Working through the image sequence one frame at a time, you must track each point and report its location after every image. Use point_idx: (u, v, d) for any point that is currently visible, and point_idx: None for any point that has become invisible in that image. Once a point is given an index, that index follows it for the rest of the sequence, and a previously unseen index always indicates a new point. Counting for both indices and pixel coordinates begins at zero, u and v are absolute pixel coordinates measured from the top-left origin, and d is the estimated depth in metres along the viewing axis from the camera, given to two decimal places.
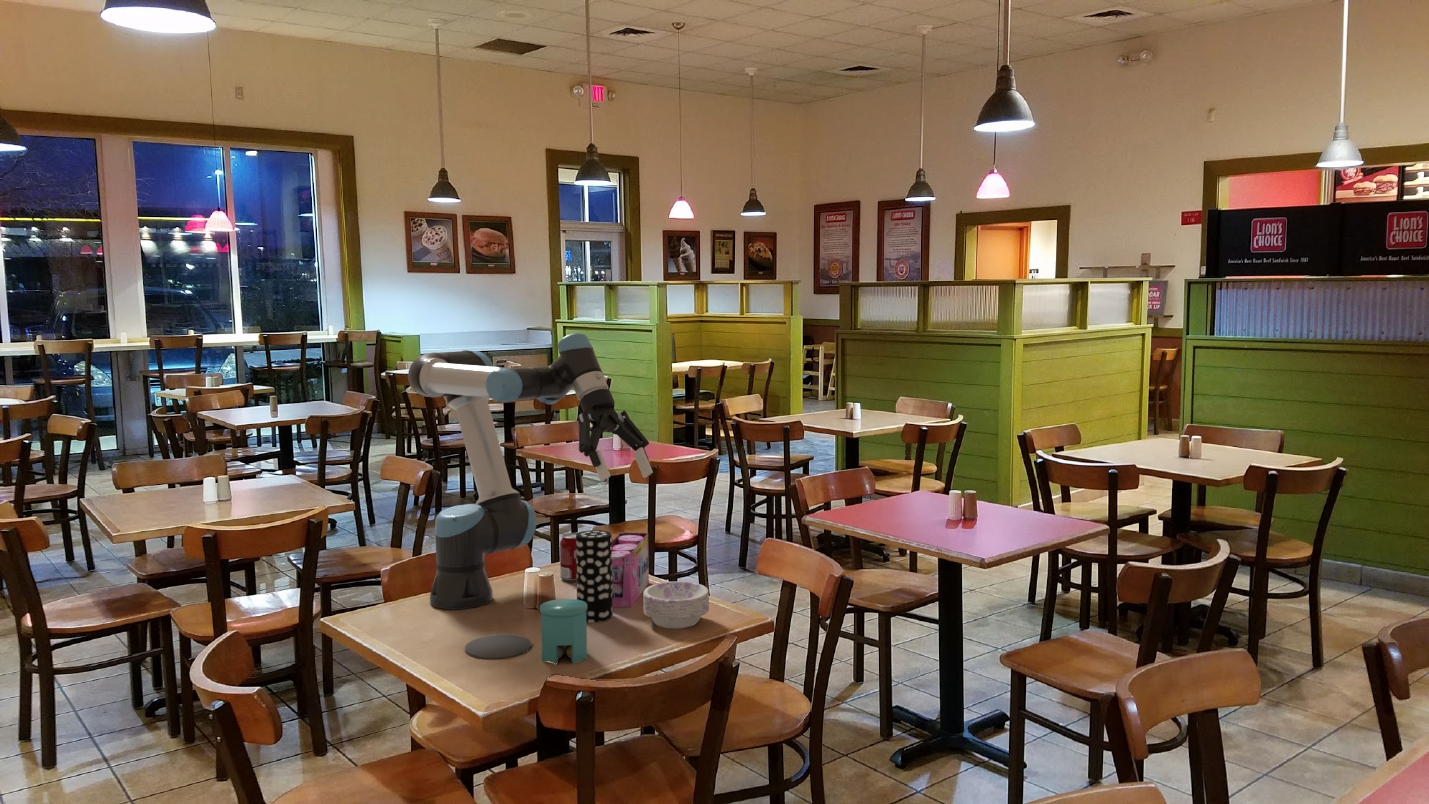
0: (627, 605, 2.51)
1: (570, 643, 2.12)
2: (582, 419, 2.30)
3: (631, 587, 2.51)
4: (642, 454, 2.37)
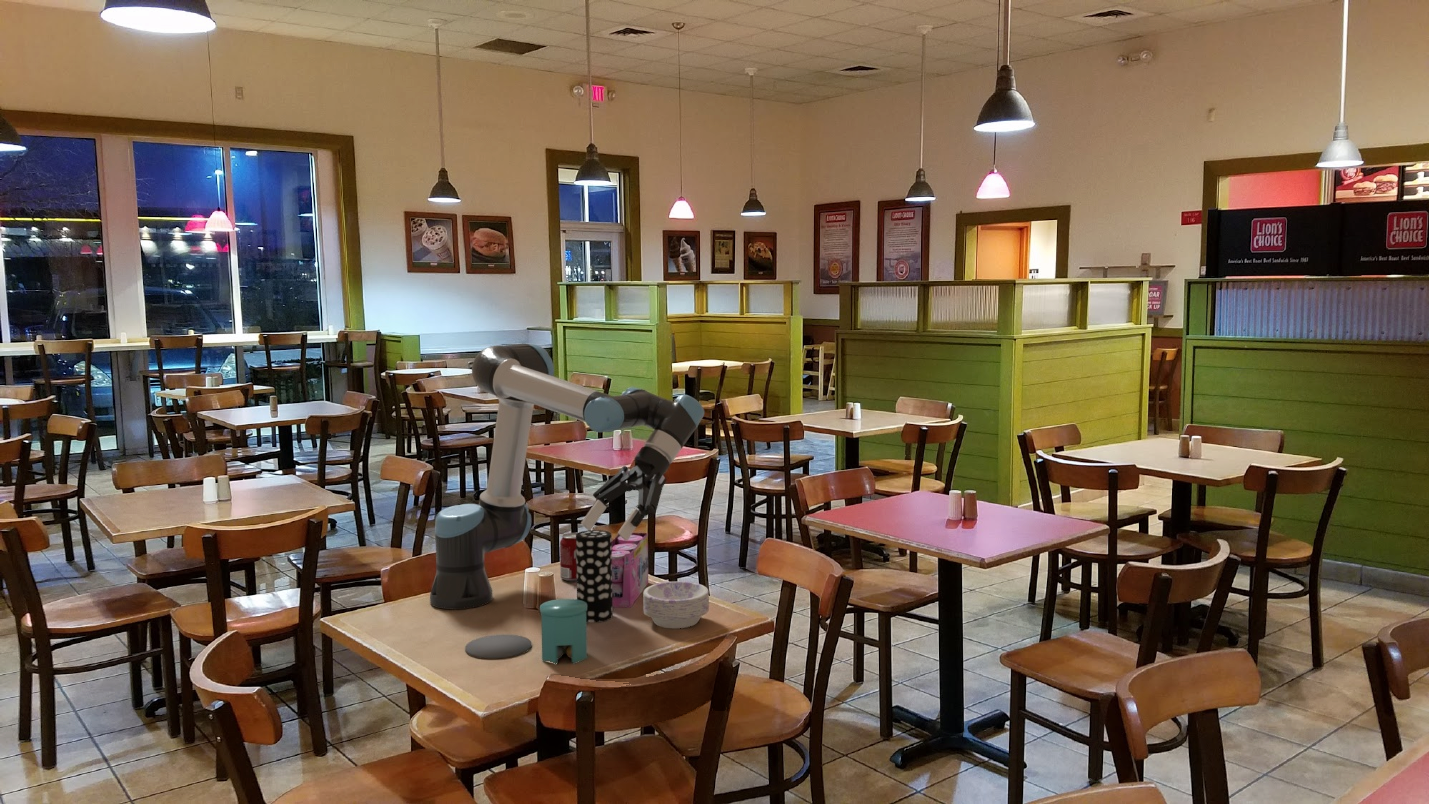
0: (627, 605, 2.51)
1: (570, 643, 2.12)
2: (661, 482, 2.22)
3: (631, 587, 2.51)
4: (601, 512, 2.29)
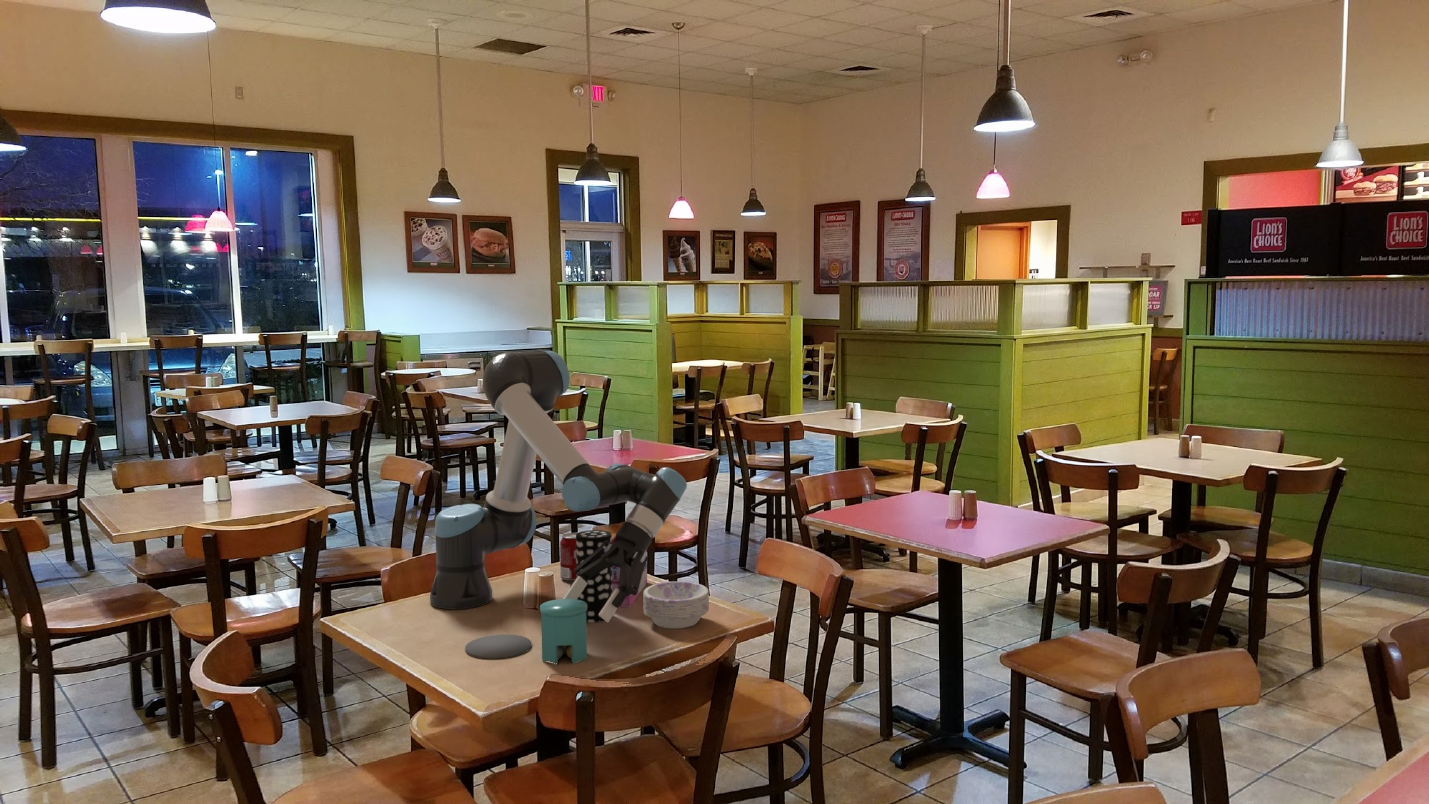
0: (626, 605, 2.51)
1: (570, 643, 2.12)
2: (642, 560, 2.19)
3: None
4: (582, 589, 2.25)
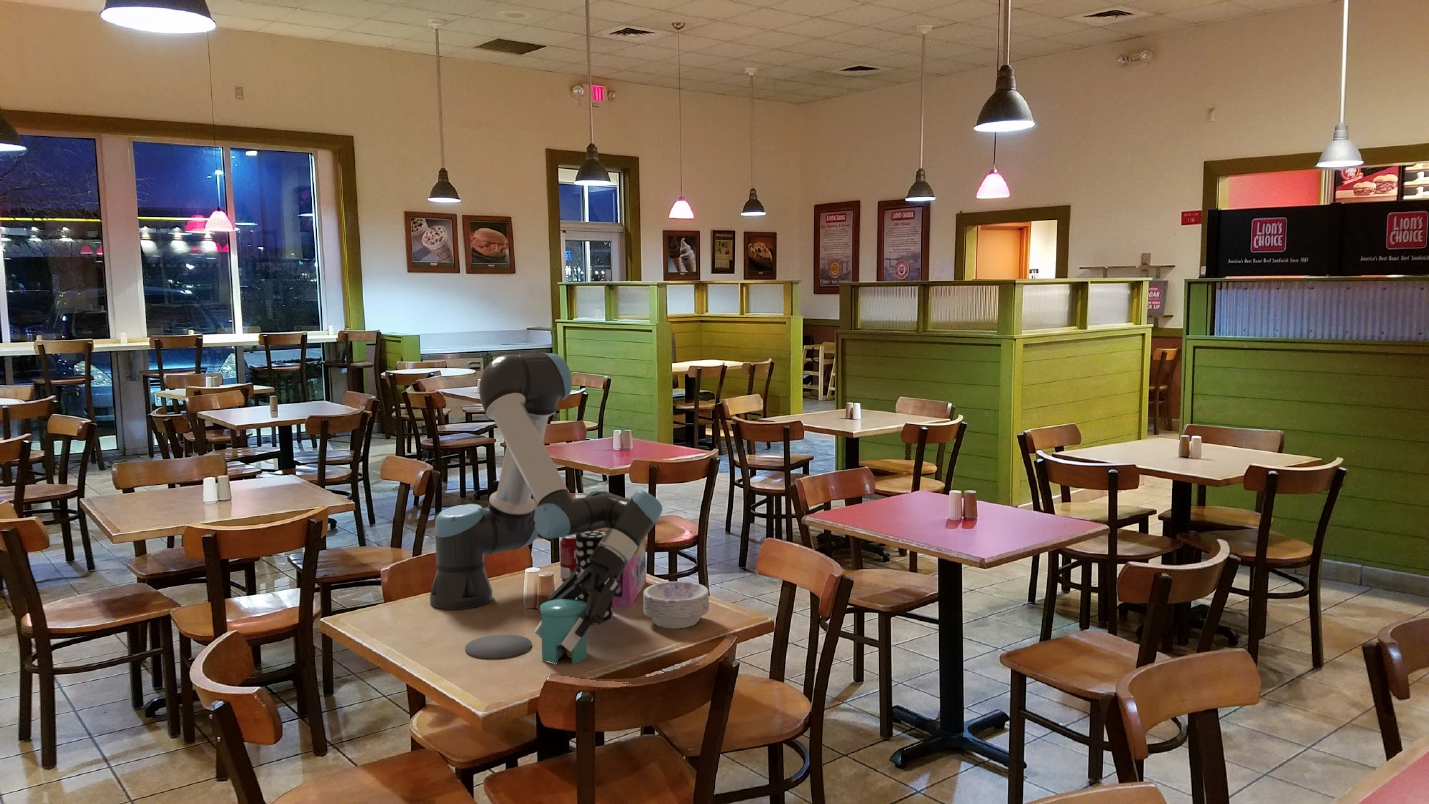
0: (626, 604, 2.52)
1: None
2: (612, 588, 2.16)
3: (630, 586, 2.52)
4: None
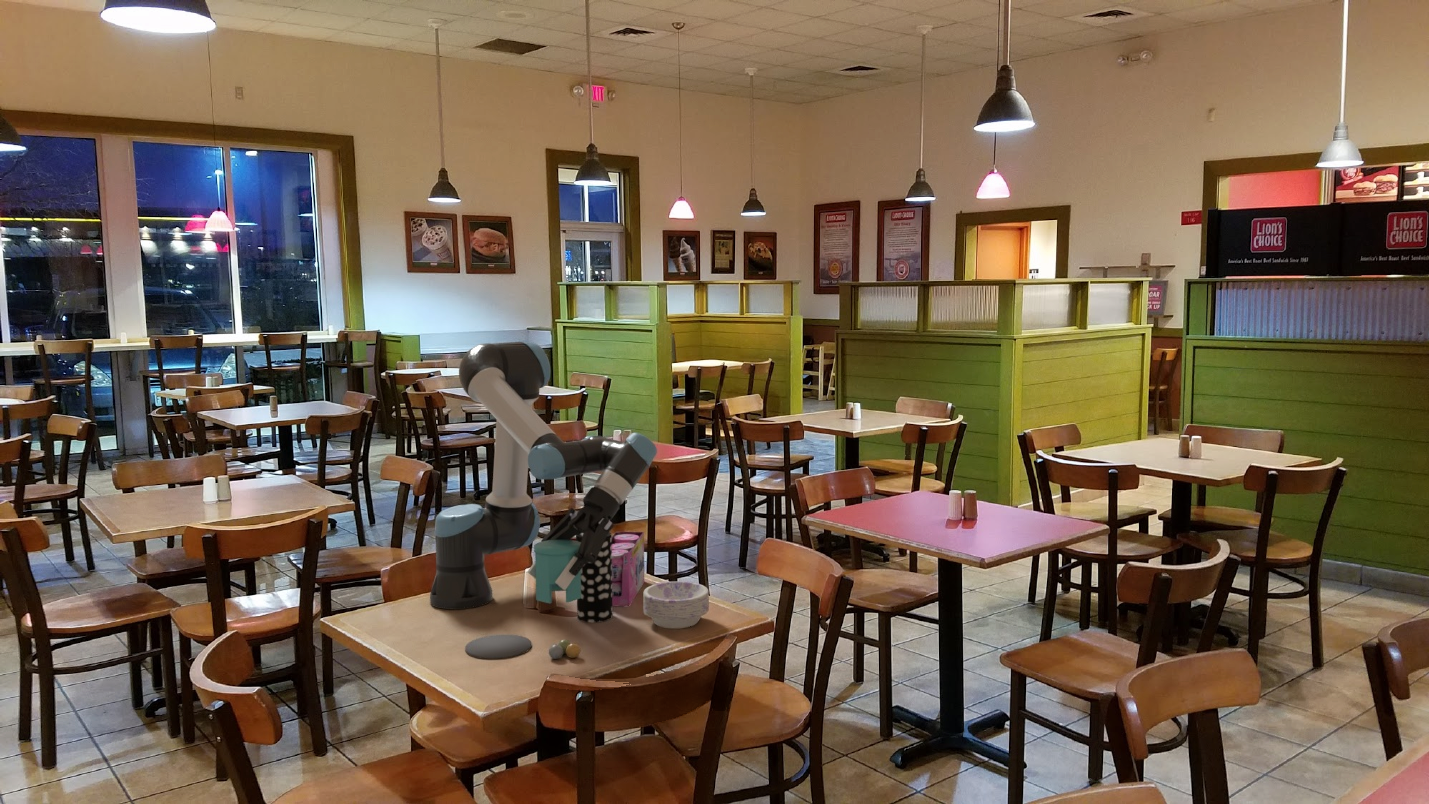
0: (625, 604, 2.52)
1: None
2: (607, 528, 2.15)
3: (630, 586, 2.52)
4: None
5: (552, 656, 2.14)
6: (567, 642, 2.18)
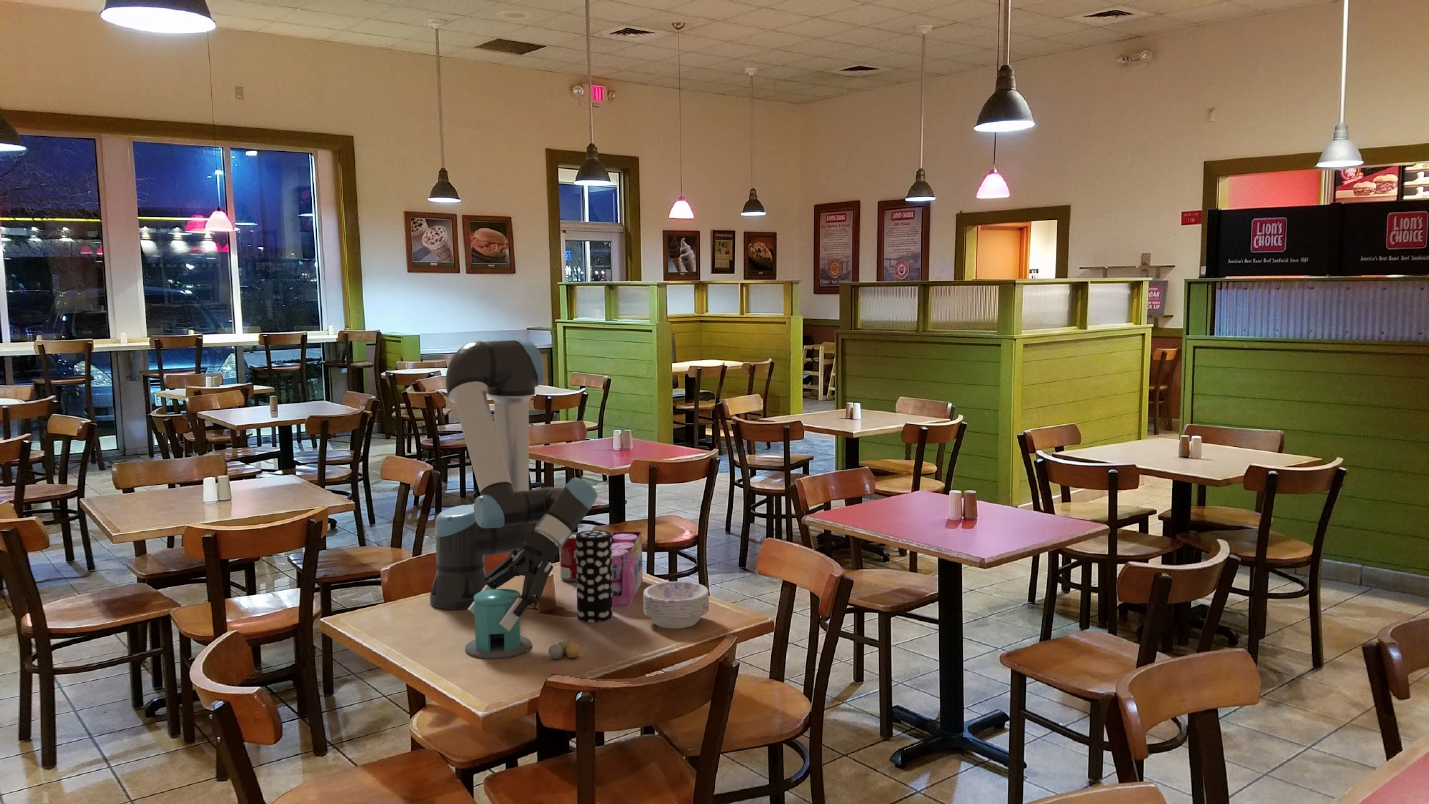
0: (626, 603, 2.52)
1: (502, 631, 2.18)
2: (547, 570, 2.21)
3: (630, 585, 2.53)
4: None
5: (552, 656, 2.14)
6: (567, 642, 2.18)
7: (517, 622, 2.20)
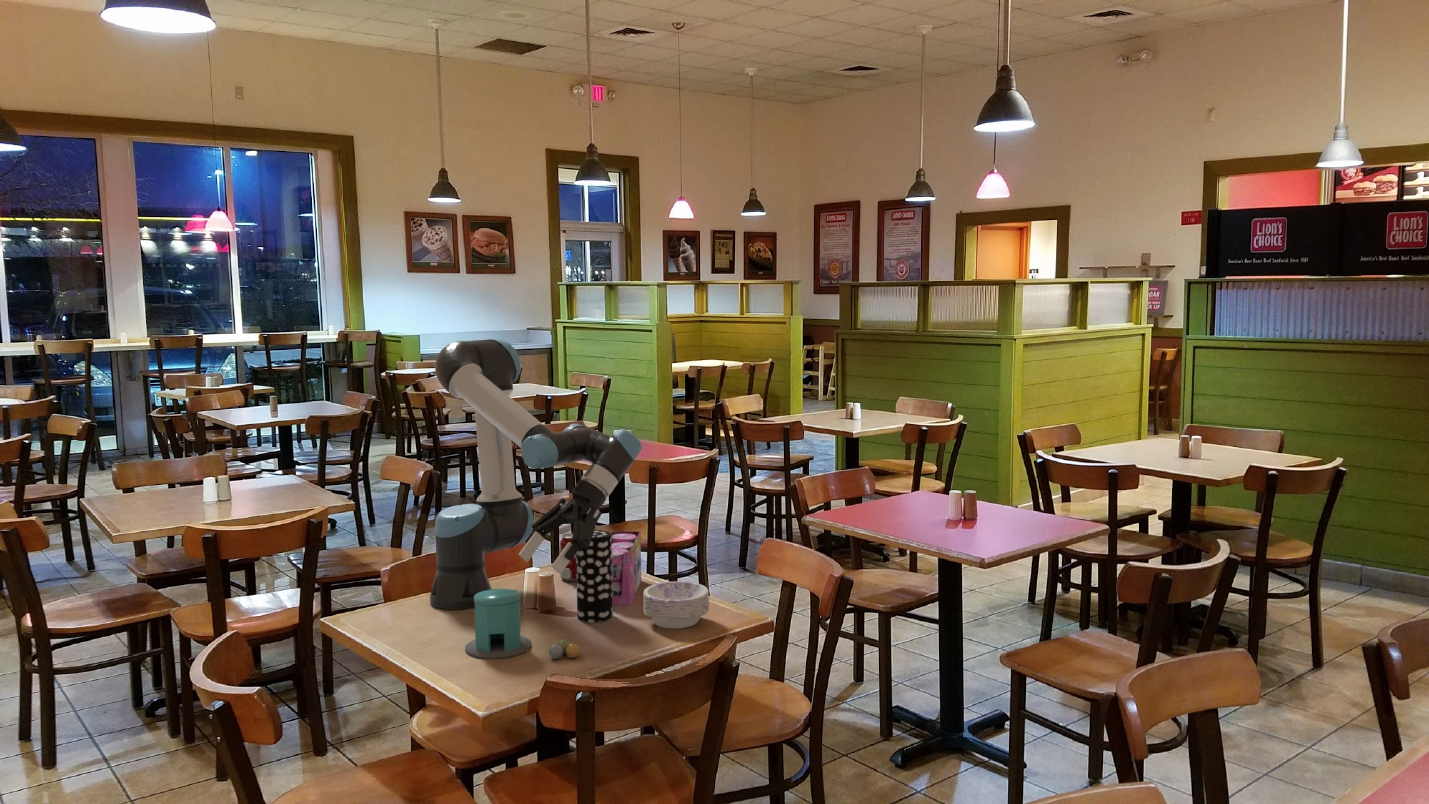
0: (625, 603, 2.53)
1: (502, 631, 2.18)
2: (595, 516, 2.29)
3: (630, 585, 2.53)
4: (539, 544, 2.35)
5: (552, 656, 2.14)
6: (567, 642, 2.18)
7: (517, 622, 2.20)
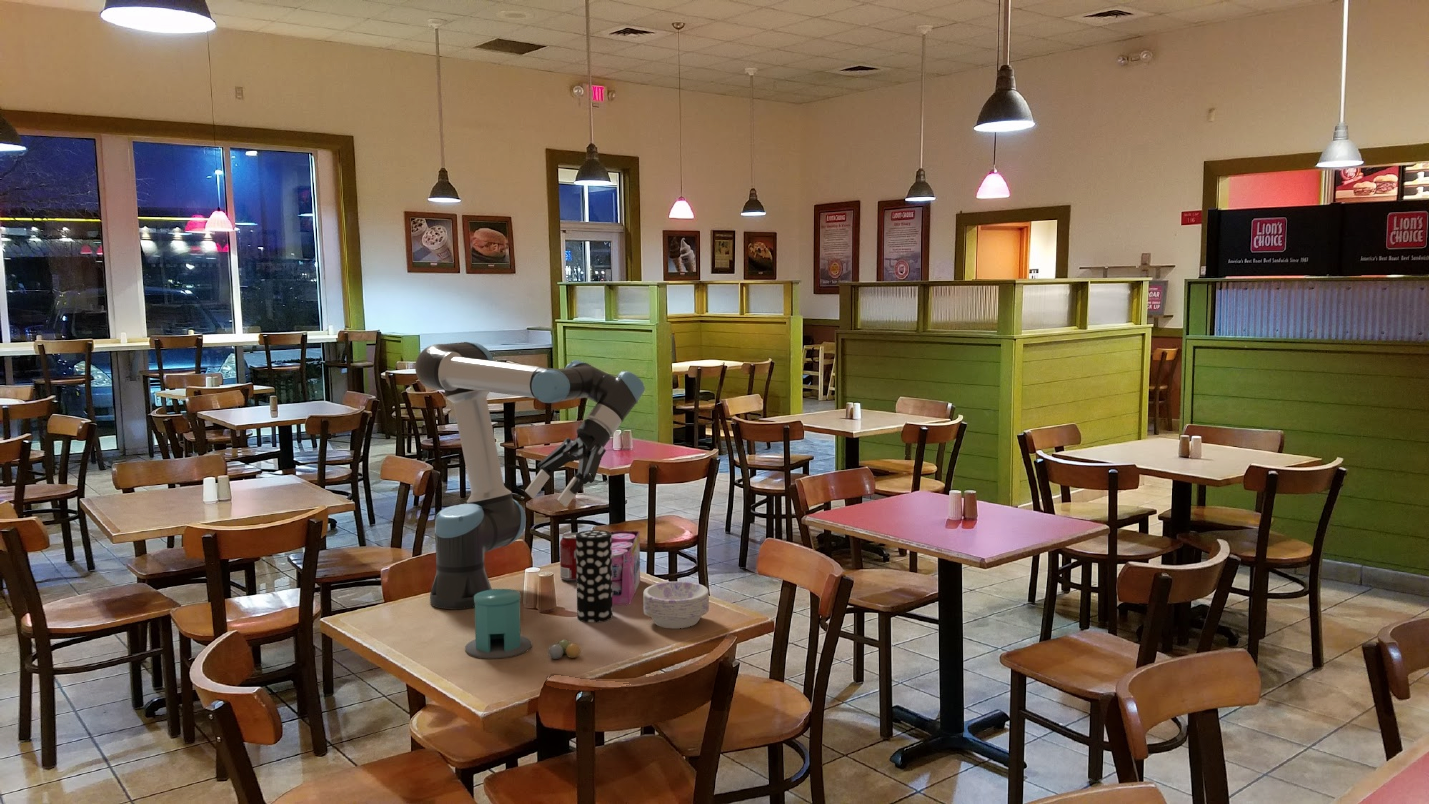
0: (625, 602, 2.53)
1: (502, 631, 2.18)
2: (600, 452, 2.35)
3: (629, 584, 2.54)
4: (545, 481, 2.41)
5: (552, 656, 2.14)
6: (567, 642, 2.18)
7: (517, 622, 2.20)
